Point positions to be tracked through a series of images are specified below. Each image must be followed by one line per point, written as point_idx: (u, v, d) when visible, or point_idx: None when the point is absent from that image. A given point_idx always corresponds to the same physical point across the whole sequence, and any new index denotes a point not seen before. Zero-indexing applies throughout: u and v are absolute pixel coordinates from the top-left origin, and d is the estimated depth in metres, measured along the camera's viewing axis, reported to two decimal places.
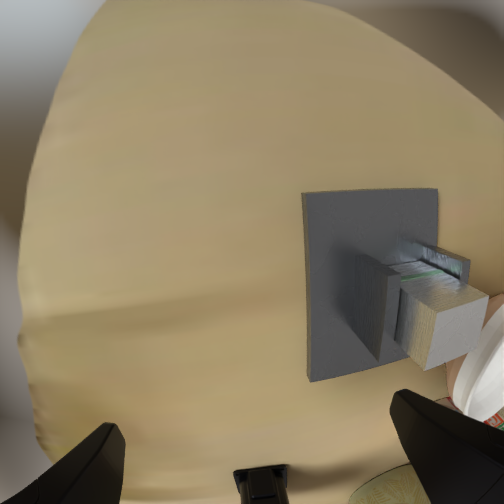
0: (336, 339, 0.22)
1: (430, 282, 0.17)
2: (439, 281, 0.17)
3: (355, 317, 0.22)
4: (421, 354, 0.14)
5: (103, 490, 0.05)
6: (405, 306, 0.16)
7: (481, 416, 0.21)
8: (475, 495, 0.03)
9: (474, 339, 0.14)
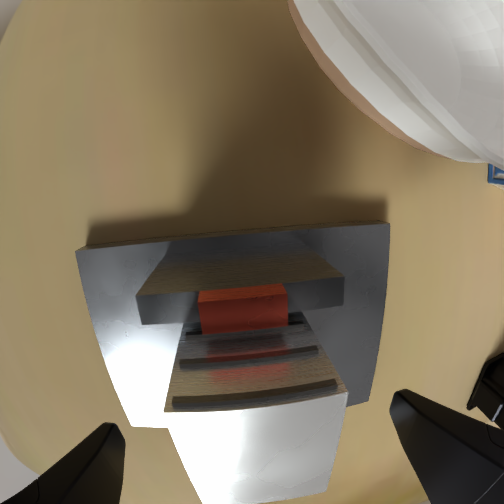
0: None
1: None
2: None
3: None
4: None
5: (103, 490, 0.05)
6: None
7: None
8: (475, 495, 0.03)
9: (306, 417, 0.06)
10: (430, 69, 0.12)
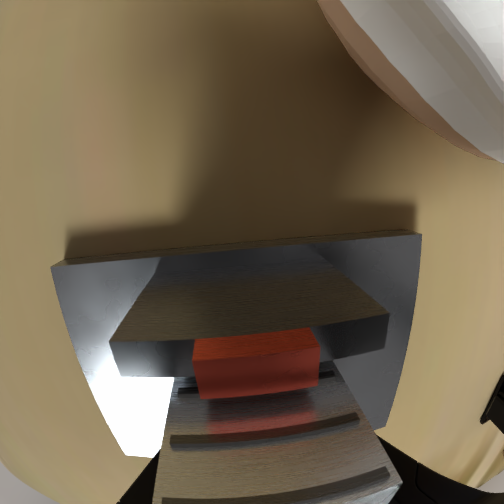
0: None
1: None
2: None
3: None
4: None
5: None
6: None
7: None
8: None
9: None
10: None
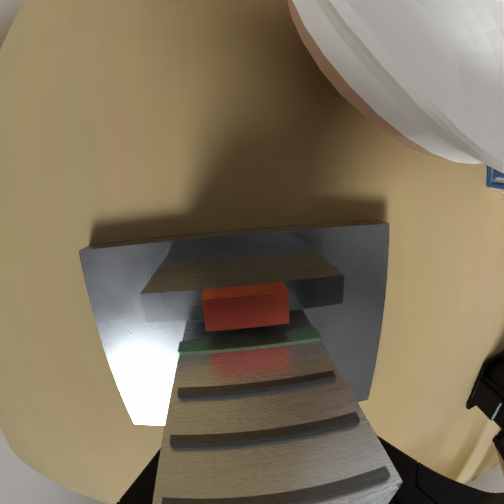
0: None
1: None
2: None
3: None
4: None
5: None
6: None
7: None
8: None
9: None
10: (429, 71, 0.12)
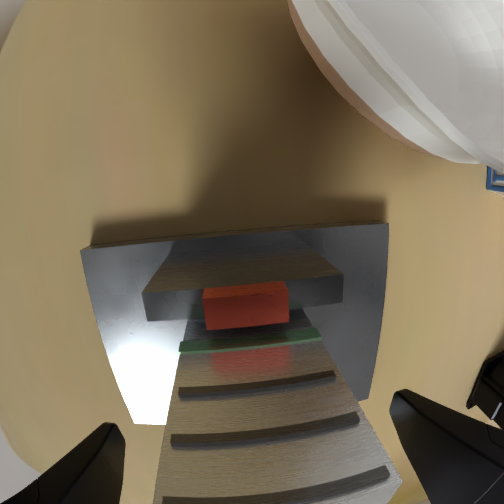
0: None
1: None
2: None
3: None
4: None
5: (103, 490, 0.05)
6: None
7: None
8: (475, 495, 0.03)
9: None
10: (428, 71, 0.12)
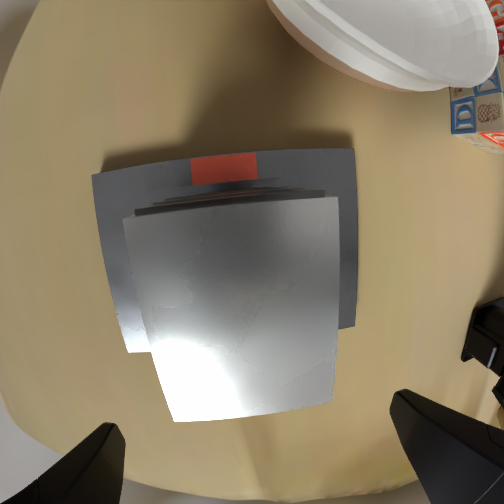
0: None
1: None
2: None
3: None
4: None
5: (103, 490, 0.05)
6: None
7: (486, 28, 0.09)
8: (475, 495, 0.03)
9: (291, 230, 0.05)
10: (384, 33, 0.14)
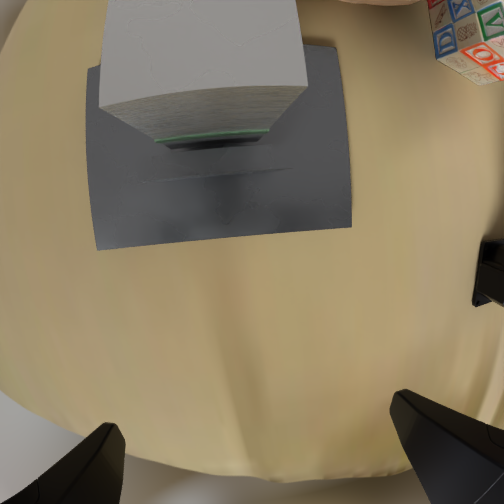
0: (286, 193, 0.17)
1: None
2: None
3: None
4: (258, 95, 0.05)
5: (103, 490, 0.05)
6: (173, 126, 0.08)
7: None
8: (475, 495, 0.03)
9: None
10: None
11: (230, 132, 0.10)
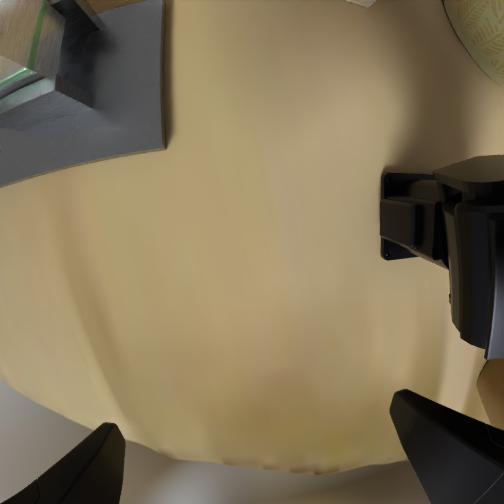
0: (100, 124, 0.15)
1: None
2: None
3: (70, 112, 0.14)
4: None
5: (103, 490, 0.05)
6: None
7: None
8: (475, 495, 0.03)
9: None
10: None
11: (9, 77, 0.08)
